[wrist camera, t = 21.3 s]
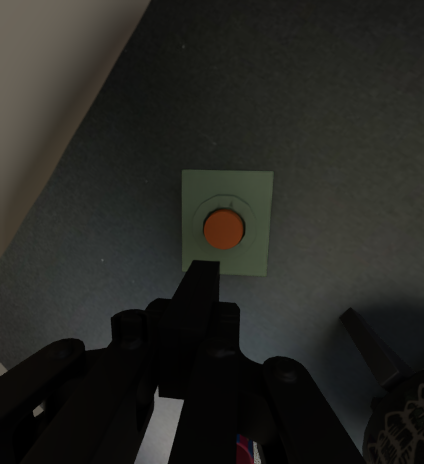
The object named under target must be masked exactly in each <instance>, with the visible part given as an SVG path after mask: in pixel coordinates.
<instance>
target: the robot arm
mask: <svg viewBox="0 0 424 464" xmlns="http://www.w3.org/2000/svg"><path fill="white" fill-rule="evenodd" d="M219 280H220V261H206V260H193V261H192V263H191V265H190V266H189V268H188V270H187V272H186V274H185V276H184V277H183V279H182V281H181V283H180V285H179V286H178V288H177V290H176V292H175V294H174V296H173V297H172V299H163V298H157V299H156V300H154V301H152V302H151V303H149V305H148V306H147V308H146V309H145V310H140V309H130V310H125V311H122V312H119V313H117V314H115V315H114V316H113V317H111V328H112V342H111V343H110V344H109V345H108V347H107V348H103V349H96V350H88V351H85V345H84V343H83V341H81V340H79V339H73V338H68V339H61V340H59V341H55V342H53V343H51V344H49V345H47V346H45V347H44V348H42V349H41V350H39V351H38V352H36V353H35V354H33V355H32V356H30V357H29V358H27V359H26V360H24V361H22V362H21V363H19V364H18V365H16V366H15V367H13V368H12V369H10V370H9V371H7V372H6V373H4V374H3V375H2V376H0V464H134V462H135V459H136V457H137V454H138V451H139V448H140V446H141V443H142V440H143V438H144V435H145V432H146V429H147V427H148V424H149V421H150V419H151V416H152V413H153V410H154V394H155V391H156V389H157V386H158V390H159V397H164V398H173V399H182V400H184V403H183V407H182V411H181V415H180V418H179V422H178V426H177V430H176V434H175V438H174V442H173V445H172V449H171V453H170V457H169V461H168V464H236V449H237V434H240V435H242V436H244V437H246V438H248V439H250V440H252V441H254V442H257V449H258V453H259V456H260V460H261V463H262V464H367V463H366V461H365V460H364V458H363V457H362V455H361V453H360V452H359V450H358V449H357V447H356V446H355V444H354V442H353V441H352V439H351V438H350V436H349V435H348V433H347V432H346V430H345V428H344V427H343V425H342V424H341V422H340V421H339V419H338V417H337V416H336V414H335V413H334V411H333V410H332V408H331V407H330V405H329V403H328V402H327V400H326V399H325V397H324V396H323V394H322V392H321V391H320V389H319V388H318V386H317V385H316V383H315V382H314V380H313V378H312V377H311V375H310V374H309V372H308V371H307V369H306V368H305V367H304V366H303V365H302V364H301V363H299V362H297V361H296V360H294V359H291V358H288V357H281V356H276V357H271V358H269V359H267V360H266V361H264V363H263V365H262V364H259V363H256V362H254V361H252V360H250V359H248V358H247V357H245V356H244V355H243V353H242V352H241V350H240V348H239V328H240V309H239V307H238V306H237V304H236V303H230V302H219ZM42 402H43V408H44V411H43V412H42V413H41V414H39V415H38V416H36V417H34V415H33V410H34V409H35V408H36V407H37V406H39V405H40V404H41V403H42Z"/></svg>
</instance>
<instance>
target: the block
mask: <svg viewBox="0 0 424 464" xmlns="http://www.w3.org/2000/svg"><path fill="white" fill-rule="evenodd" d="M273 177H274V172H273V171H237V170H193V169H182V272H187V270H188V268H189V266H190V265H191V263H192V261H193V260H206V261H220V274H228V275H244V276H260V277H266V275H267V261H268V247H269V233H270V219H271V205H272V191H273ZM221 209H227V210H231V211H233V212H235V213H236V214H237V215H238V216H239V217H240V219H241V221H242V224H243V234H242V238H241V240H240V241H239V243H238V244H237V245H236V246H234V247H232V248H230V249H225V250H222V249H217V248H215V247H213V246H212V245H210V244H209V243H208V241H207V240H206V238H205V235H204V225H205V223H206V221H207V219H208V218H209V216H210V215H211V214H212V213H214V212H215V211H217V210H221Z"/></svg>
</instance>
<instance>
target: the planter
mask: <svg viewBox="0 0 424 464" xmlns="http://www.w3.org/2000/svg"><path fill="white" fill-rule="evenodd" d="M340 320H341V322H342V323H343V325H344V327H345V328H346V330H347V332H348V333H349V335H350V337H351V338H352V340H353V342H354V343H355V345H356V347H357V348H358V350H359V352H360V353H361V355H362V357H363V358H364V360H365V362H366V363H367V365H368V367H369V368H370V370H371V372H372V373H373V375H374V376H375V378H376V380H377V381H378V383H379V385H380V386H381V387H382V388H384V389H385V390H386V391H388V393H387V394H386V395H385V397H384V398H379V397H373V400H372V403H371V406H370V407H371V409H372V411H373V413H372V415H371V417H370V418H369V421H368V424H367V426H366V429H365V432H364V439H363V445H362V455H363V458H364V460H365V461H366V463H367V464H424V369H423V370H421V371H419V372H417V373H415V372H414V371H413V370H412V369H411V368H410V367H409V366H408V365H407V364H406V363H405V362H404V361H403V360H402V359H401V358H400V357H399V356H398V355H397V354H396V353H395V352H394V351H393V350H392V349H391V348H390V347H389V346H388V345H387V344H386V343H385V342H384V341H383V340H382V339H381V338H380V336H379V335H378V334H377V333H376V332H375V331H374V330H373V329H372V328H371V327H370V325H369V324H368V323H367V322H366V321H365V320H364V318H363V317H362V316H361V315H360V314H359V313H357V312H356V311H355V310H354V309H352V308H351V307H350V308H349V309H348V310H347V311H346V312H345V313H344V314H343V315H342V316H341V317H340Z"/></svg>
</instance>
